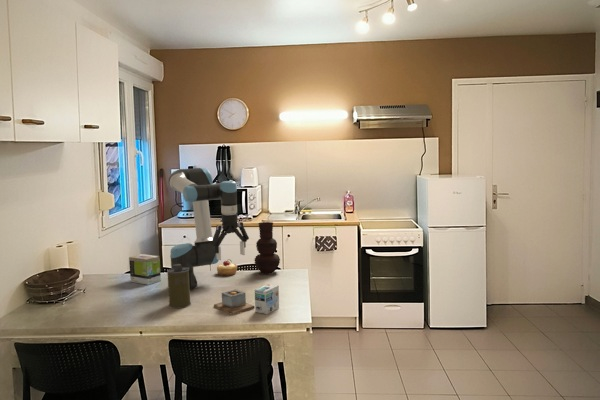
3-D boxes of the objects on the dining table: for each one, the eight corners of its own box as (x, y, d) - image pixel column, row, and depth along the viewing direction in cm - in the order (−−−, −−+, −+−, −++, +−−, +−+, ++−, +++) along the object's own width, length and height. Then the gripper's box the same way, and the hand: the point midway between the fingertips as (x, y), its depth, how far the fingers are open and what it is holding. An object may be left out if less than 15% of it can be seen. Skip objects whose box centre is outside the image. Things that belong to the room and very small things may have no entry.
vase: (251, 275, 294) (249, 225, 290) (258, 269, 309) (256, 220, 305) (277, 276, 291) (275, 225, 288) (282, 269, 306) (281, 220, 303)
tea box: (161, 281, 288) (160, 255, 286) (147, 285, 280) (146, 259, 278) (143, 277, 296) (142, 253, 294) (129, 282, 288) (128, 256, 286)
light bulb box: (266, 314, 228) (265, 291, 227) (254, 312, 232) (253, 289, 230) (279, 307, 237) (279, 285, 236) (268, 305, 241) (267, 283, 239)
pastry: (220, 271, 307) (219, 257, 306) (239, 271, 305) (238, 257, 305) (214, 276, 295) (213, 261, 294) (234, 276, 293) (233, 261, 293)
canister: (171, 309, 238) (169, 268, 235) (166, 303, 247) (164, 263, 245) (194, 305, 243) (192, 265, 240) (188, 299, 252) (186, 260, 250)
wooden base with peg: (214, 306, 241) (213, 292, 240) (234, 300, 249) (234, 286, 248) (233, 314, 229) (232, 299, 228) (254, 308, 237) (253, 293, 236)
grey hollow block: (222, 305, 239) (221, 292, 238) (236, 301, 244) (235, 289, 243) (231, 309, 233) (231, 296, 232) (245, 304, 238) (245, 292, 237)
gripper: (211, 218, 229) (212, 263, 232) (255, 211, 245) (256, 253, 248) (202, 216, 234) (204, 260, 238) (246, 209, 251) (247, 251, 254)
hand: (230, 257), depth 243 cm, fingers open, 13 cm apart
